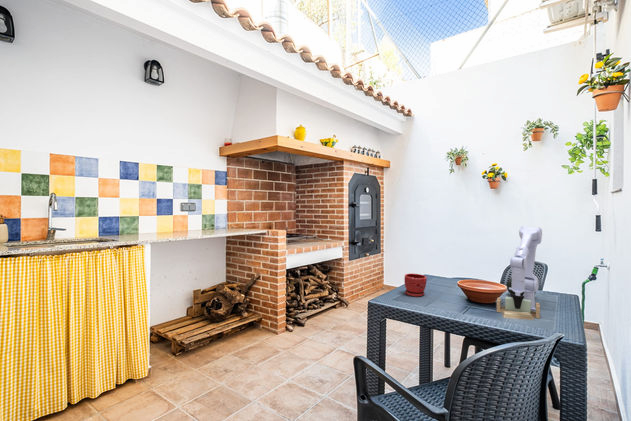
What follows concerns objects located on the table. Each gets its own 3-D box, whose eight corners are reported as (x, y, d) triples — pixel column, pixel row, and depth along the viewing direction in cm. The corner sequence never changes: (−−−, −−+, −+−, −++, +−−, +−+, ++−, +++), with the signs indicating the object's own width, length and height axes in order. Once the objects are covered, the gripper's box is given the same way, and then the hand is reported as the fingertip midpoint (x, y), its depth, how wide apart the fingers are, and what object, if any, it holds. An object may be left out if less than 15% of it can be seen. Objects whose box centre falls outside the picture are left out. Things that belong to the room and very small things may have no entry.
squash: (542, 292, 189) (533, 269, 199) (514, 292, 191) (506, 269, 201) (533, 303, 199) (525, 281, 209) (507, 302, 202) (500, 281, 212)
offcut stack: (501, 315, 165) (501, 310, 165) (530, 318, 162) (530, 312, 162) (504, 318, 161) (504, 313, 161) (533, 320, 159) (534, 315, 158)
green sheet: (505, 310, 173) (505, 296, 173) (530, 314, 167) (530, 299, 167) (505, 312, 169) (505, 298, 169) (530, 316, 164) (530, 301, 163)
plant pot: (402, 296, 199) (403, 276, 198) (405, 291, 211) (405, 272, 210) (425, 298, 194) (425, 278, 193) (427, 293, 206) (427, 274, 205)
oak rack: (497, 308, 176) (497, 297, 176) (539, 314, 166) (539, 303, 166) (496, 311, 170) (496, 300, 170) (539, 318, 160) (539, 306, 160)
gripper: (509, 276, 176) (509, 301, 176) (508, 282, 164) (508, 309, 164) (525, 278, 172) (524, 304, 173) (525, 284, 160) (524, 311, 160)
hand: (517, 306), depth 168 cm, fingers open, 7 cm apart
